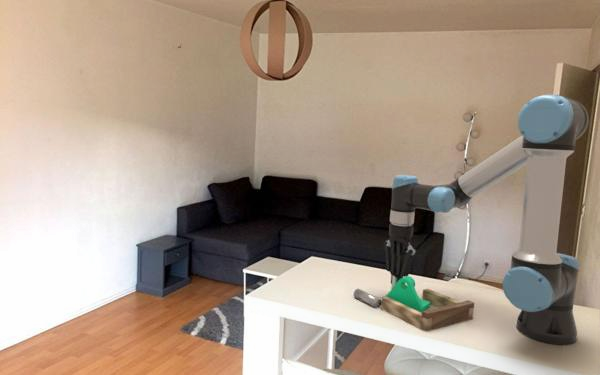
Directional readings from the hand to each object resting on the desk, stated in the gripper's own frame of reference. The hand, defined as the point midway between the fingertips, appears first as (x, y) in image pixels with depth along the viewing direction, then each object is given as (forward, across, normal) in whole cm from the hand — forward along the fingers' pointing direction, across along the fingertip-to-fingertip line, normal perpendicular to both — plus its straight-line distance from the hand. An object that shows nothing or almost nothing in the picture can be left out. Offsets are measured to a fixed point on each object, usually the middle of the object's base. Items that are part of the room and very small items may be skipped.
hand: (395, 295), depth 155 cm
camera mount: (+2, -7, +2) cm, 8 cm away
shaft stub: (+1, +2, +11) cm, 11 cm away
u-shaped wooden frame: (+1, -13, 0) cm, 13 cm away
